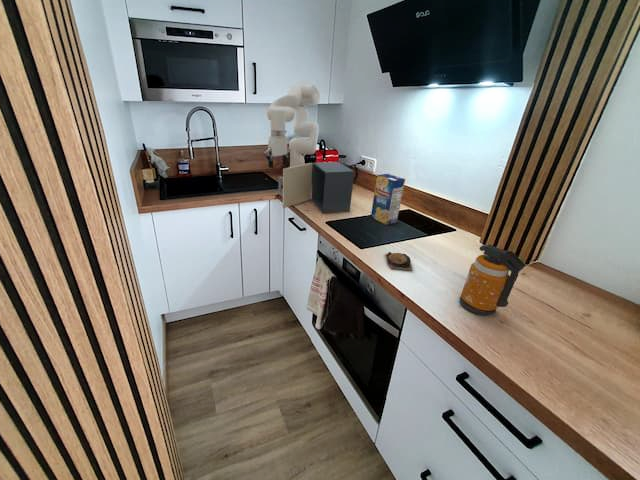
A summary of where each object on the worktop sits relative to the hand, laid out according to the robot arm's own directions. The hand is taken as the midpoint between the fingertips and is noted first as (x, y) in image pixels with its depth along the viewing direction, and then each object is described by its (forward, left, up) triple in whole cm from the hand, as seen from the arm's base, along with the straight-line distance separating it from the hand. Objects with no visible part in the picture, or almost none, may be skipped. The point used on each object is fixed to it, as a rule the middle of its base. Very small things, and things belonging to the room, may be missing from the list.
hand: (278, 166), depth 154 cm
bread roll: (+69, +33, -22) cm, 80 cm away
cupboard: (+7, +28, -22) cm, 36 cm away
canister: (+96, +43, -22) cm, 108 cm away
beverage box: (+31, +48, -22) cm, 62 cm away
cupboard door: (-1, +9, -21) cm, 23 cm away
